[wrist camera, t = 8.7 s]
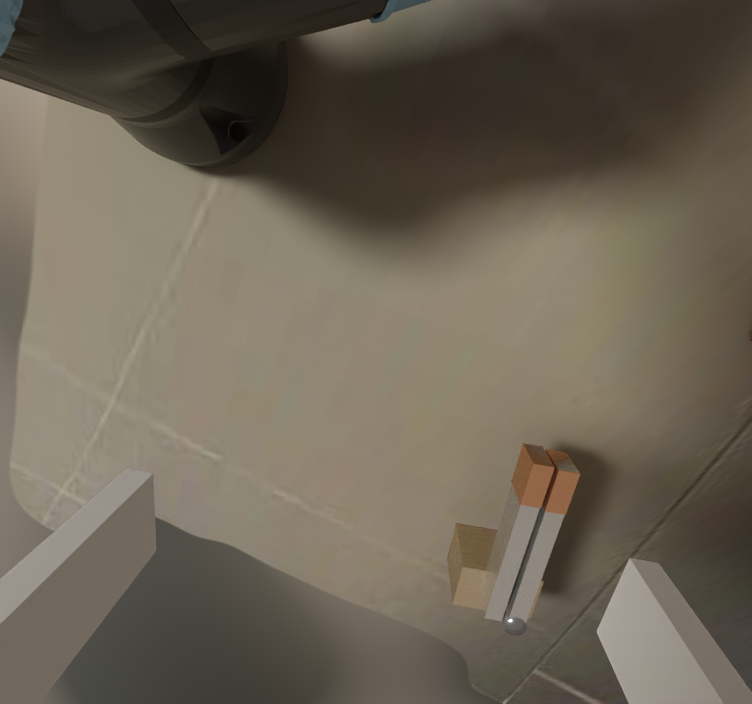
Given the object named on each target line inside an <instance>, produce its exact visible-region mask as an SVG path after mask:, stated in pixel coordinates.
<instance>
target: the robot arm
mask: <svg viewBox="0 0 752 704" xmlns="http://www.w3.org/2000/svg"><path fill="white" fill-rule="evenodd" d="M428 1H431V0H0V79H3V80H6V81H9V82H12V83H15V84H17V85H20V86H23V87H26V88H29V89H32V90H35V91H38V92H41V93H44V94H47V95H50V96H53V97H56V98H59V99H62V100H65V101H68V102H71V103H74V104H77V105H80V106H83V107H86V108H89V109H92V110H95V111H98V112H101V113H104V114H107V115H110V116H111V117H112V118H113V119H114V120H115V121H116V122H117V123H118V124H120V125H121V126H122V127H123V128H124V129H125V130H126V131H127V132H128V133H129V134H130V135H132V136H133V137H134V138H135V139H136V140H137V141H138V142H140V143H141V144H142V145H144V146H145V147H147V148H148V149H150V150H151V151H153V152H155V153H157V154H159V155H161V156H163V157H165V158H167V159H170V160H173V161H176V162H180V163H184V164H188V165H192V166H198V167H218V166H223V165H228V164H231V163H234V162H236V161H238V160H240V159H242V158H244V157H246V156H247V155H249V154H250V153H251V152H253V151H254V150H255V149H256V148H257V147H258V146H259V145H260V144H261V143H262V142H263V141H264V140H265V139H266V137H267V136H268V135H269V133H270V132H271V130H272V128H273V127H274V125H275V123H276V121H277V119H278V116H279V114H280V111H281V108H282V105H283V101H284V97H285V92H286V84H287V59H286V51H285V45H284V40H288V39H292V38H296V37H300V36H304V35H308V34H311V33H315V32H319V31H323V30H327V29H331V28H335V27H339V26H343V25H347V24H351V23H354V22H358V21H362V20H366V19H370V21H371V22H372V23H378V22H382V21H384V20H386V19H387V18H388V17H389V16H390V15H391V14H392V13H393V12H396V11H399V10H403V9H406V8H409V7H412V6H415V5H419V4H422V3H425V2H428ZM155 551H156V535H155V510H154V485H153V473H148V472H142V471H137V470H131V469H125V470H124V471H123V472H122V473H121V474H120V475H118V476H117V477H116V478H115V479H114V480H113V481H112V482H110V483H109V484H108V485H107V486H106V487H105V488H104V489H103V490H101V491H100V492H99V493H98V494H97V495H96V496H95V497H93V498H92V499H91V500H90V501H89V502H88V503H87V504H85V505H84V506H83V507H82V508H81V509H80V510H79V511H77V512H76V513H75V514H74V515H73V516H72V517H71V518H69V519H68V520H67V521H66V522H65V523H64V524H63V525H61V526H60V527H59V528H58V529H57V530H56V531H55V532H53V533H52V534H51V535H50V536H49V537H48V538H47V539H46V540H45V541H43V542H42V543H41V544H40V545H39V546H38V547H36V548H35V549H34V550H33V551H32V552H31V553H30V554H28V555H27V556H26V557H25V558H24V559H23V560H22V561H21V562H19V563H18V564H17V565H16V566H15V567H14V568H12V569H11V570H10V571H9V572H8V573H7V574H6V575H4V577H2V578H1V579H0V704H39V703H40V701H41V700H42V699H43V698H44V696H45V695H46V694H47V692H48V691H49V690H50V688H51V687H52V686H53V684H54V683H55V682H56V681H57V679H58V678H59V677H60V675H61V674H62V673H63V671H64V670H65V669H66V668H67V666H68V665H69V664H70V662H71V661H72V660H73V658H74V657H75V656H76V654H77V653H78V652H79V651H80V649H81V648H82V647H83V645H84V644H85V643H86V641H87V640H88V639H89V638H90V636H91V635H92V634H93V632H94V631H95V630H96V628H97V627H98V626H99V625H100V623H101V622H102V620H103V619H104V618H105V617H106V615H107V614H108V613H109V612H110V610H111V609H112V608H113V606H114V605H115V604H116V602H117V601H118V600H119V598H120V597H121V596H122V594H123V593H124V592H125V591H126V589H127V588H128V587H129V585H130V584H131V583H132V581H133V580H134V579H135V578H136V576H137V575H138V574H139V572H140V571H141V570H142V569H143V567H144V566H145V564H146V563H147V562H148V561H149V559H150V558H151V556H152V555H153V554H154V553H155ZM597 634H598V636H599V638H600V641H601V643H602V645H603V647H604V649H605V652H606V654H607V656H608V658H609V661H610V663H611V665H612V667H613V669H614V672H615V674H616V676H617V678H618V681H619V683H620V685H621V687H622V689H623V692H624V694H625V696H626V698H627V700H628V703H629V704H752V692H751V691H750V689H749V688H748V687H747V685H746V684H745V682H744V681H743V680H742V678H741V677H740V676H739V674H738V673H737V671H736V670H735V669H734V667H733V666H732V664H731V663H730V662H729V660H728V659H727V657H726V656H725V655H724V653H723V652H722V651H721V649H720V648H719V646H718V645H717V644H716V642H715V641H714V639H713V638H712V637H711V635H710V634H709V633H708V631H707V630H706V628H705V627H704V626H703V624H702V623H701V621H700V620H699V619H698V617H697V616H696V614H695V613H694V612H693V610H692V609H691V608H690V606H689V605H688V603H687V602H686V601H685V599H684V598H683V596H682V595H681V594H680V592H679V591H678V590H677V588H676V587H675V585H674V584H673V583H672V581H671V580H670V578H669V577H668V576H667V574H666V573H665V571H664V570H663V569H662V567H661V566H660V565H659V563H655V562H649V561H643V560H638V559H632V558H629V561H628V563H627V565H626V567H625V569H624V572H623V574H622V576H621V578H620V581H619V583H618V585H617V587H616V589H615V592H614V594H613V596H612V598H611V601H610V603H609V605H608V607H607V609H606V612H605V614H604V616H603V618H602V620H601V623H600V625H599V627H598V629H597Z"/></svg>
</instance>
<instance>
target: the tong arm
mask: <svg viewBox="0 0 752 704" xmlns="http://www.w3.org/2000/svg"><path fill="white" fill-rule="evenodd" d="M546 453H547V455H548V457H549V459H550V460H551V462H552V464H553V465H554V467H555V468H554V471H553V474H552V477H551V480H550V483H549V486H548V489H547V492H546V495H545V498H544V501H543V504H542V507H541V508H540V510H539V513H538V516H537V518H536V521H535V524H534V527H533V530H532V533H531V536H530V539H529V542H528V545H527V548H526V551H525V554H524V557H523V560H522V563H521V566H520V568H519V571H518V574H517V577H516V580H515V583H514V586H513V589H512V592H511V595H510V598H509V601H508V604H507V607H506V610H505V613H504V616H503V618H502V620H503V624H504V629H505V631H506V632H507V633H508V634H510V635H514V636H517V635H521V634H523V633H524V632H525V631H526V629H527V626H526V621H527V618H528V615H529V613H530V610H531V607H532V604H533V602H534V599H535V596H536V593H537V590H538V588H539V585H540V582H541V579H542V577H543V574H544V571H545V568H546V566H547V563H548V560H549V557H550V554H551V552H552V549H553V546H554V543H555V541H556V538H557V535H558V532H559V530H560V527H561V524H562V521H563V518H564V516H565V515H566V513H567V510H568V507H569V505H570V502H571V499H572V496H573V494H574V491H575V488H576V485H577V483H578V480H579V477H580V472H579V471H578V469H577V468H576V466H575V465H574V463H573V462H572V460H571V459H570V457H569V456H568V454H567V453H566V452H561V451H555V450H549V449H546Z"/></svg>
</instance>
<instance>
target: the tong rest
mask: <svg viewBox="0 0 752 704" xmlns="http://www.w3.org/2000/svg"><path fill="white" fill-rule="evenodd" d="M554 468H555V467H554V465H553V464H552V462H551V460H550V459H549V457H548V455H547V453H546V452H545V450H544V448H543V447H541V446H535V445H530V444H524V443H523V445H522V449H521V452H520V455H519V458H518V462H517V465H516V468H515V472H514V475H513V478H512V484H511V488H510V491H509V494H508V497H507V501H506V504H505V507H504V510H503V514H502V517H501V520H500V524H499V527H498V530H491V529H485V528H480V527H474V526H469V525H463V524H457V523H456V526H455V530H454V534H453V538H452V542H451V546H450V549H449V553H448V557H447V559H448V568H449V577H450V586H451V596H452V604H454V605H460V606H465V607H470V608H476V609H481V610H483V612H484V618H487V619H493V620H498V621H502V618H503V616H504V613H505V610H506V607H507V604H508V601H509V598H510V595H511V592H512V589H513V586H514V583H515V580H516V577H517V574H518V571H519V568H520V566H521V563H522V560H523V557H524V554H525V551H526V548H527V545H528V542H529V539H530V536H531V533H532V530H533V527H534V524H535V521H536V518H537V516H538V513H539V510H540V508H541V507H542V504H543V501H544V498H545V495H546V492H547V489H548V486H549V483H550V480H551V477H552V474H553V471H554ZM543 583H544V580H543V577H542V579H541V582H540V585H539V588H538V590H537V593H536V596H535V599H534V602H533V604H532V607H531V610H530V613H529V615H528V618H531V615H532V613H533V610H534V607H535V605H536V602H537V599H538V596H539V594H540V591H541V588H542V586H543Z"/></svg>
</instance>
